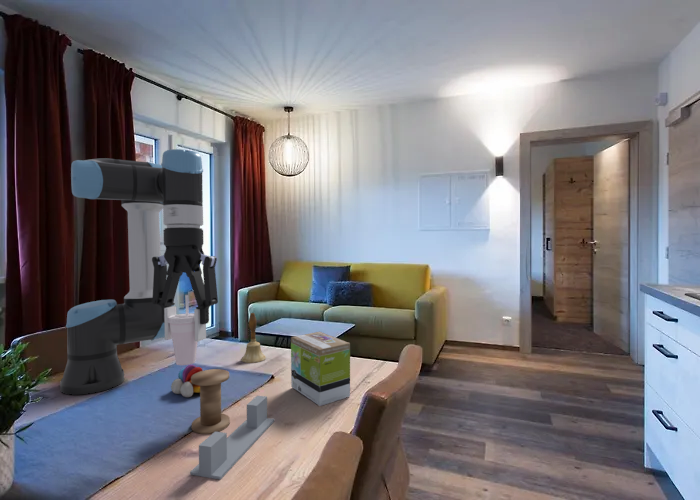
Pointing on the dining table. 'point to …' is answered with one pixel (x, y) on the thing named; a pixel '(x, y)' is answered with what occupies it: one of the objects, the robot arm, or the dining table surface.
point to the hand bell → (253, 345)
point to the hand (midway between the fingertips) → (185, 338)
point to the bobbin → (210, 401)
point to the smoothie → (183, 336)
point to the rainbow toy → (186, 381)
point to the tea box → (320, 367)
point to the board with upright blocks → (232, 442)
